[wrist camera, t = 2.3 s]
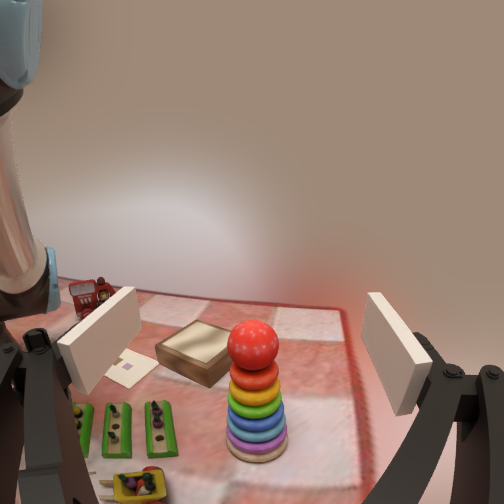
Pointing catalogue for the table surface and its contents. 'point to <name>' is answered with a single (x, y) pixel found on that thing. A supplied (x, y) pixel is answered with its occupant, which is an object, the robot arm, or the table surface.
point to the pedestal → (197, 352)
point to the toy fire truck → (89, 295)
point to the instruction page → (130, 368)
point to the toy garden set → (119, 446)
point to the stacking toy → (255, 394)
